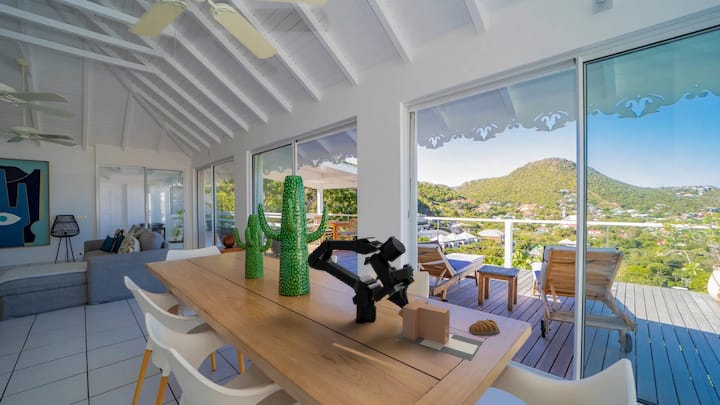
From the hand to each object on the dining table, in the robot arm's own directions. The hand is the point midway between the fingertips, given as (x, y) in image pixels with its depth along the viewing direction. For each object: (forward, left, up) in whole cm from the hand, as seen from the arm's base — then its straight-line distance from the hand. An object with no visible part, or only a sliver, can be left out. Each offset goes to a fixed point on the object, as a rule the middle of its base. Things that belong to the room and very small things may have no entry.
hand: (409, 311), depth 92 cm
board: (+8, -5, -7) cm, 12 cm away
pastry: (+24, +4, -7) cm, 26 cm away
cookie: (+2, +14, -7) cm, 16 cm away
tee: (+5, -3, -6) cm, 9 cm away
